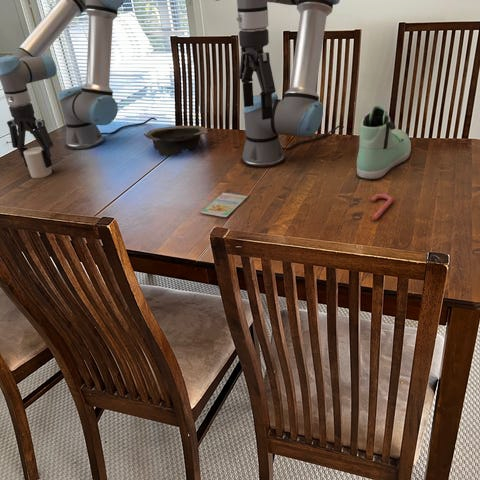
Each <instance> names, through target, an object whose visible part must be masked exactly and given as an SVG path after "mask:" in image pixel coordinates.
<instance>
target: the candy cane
mask: <svg viewBox="0 0 480 480" xmlns="http://www.w3.org/2000/svg"><path fill="white" fill-rule="evenodd" d="M379 199H384V200H386V201H385V203H383V205H382V206H381V207H380V208H378V210H377V211H376V212H375V213H374V214H373V215H372V216H371V219H372V220H373V221H377V220H378V219H379V217H381V215H383V213H384V212H385V211H386V210H387V209H388V208H389V207H390V206H391V205H392V203H393V202H394V198H393V197H392V195H389V194H386V193H376V194H374V195H372V197H371V201H372V202H373V203H374V202H377V200H379Z"/></svg>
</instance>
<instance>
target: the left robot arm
mask: <svg viewBox="0 0 480 480" xmlns="http://www.w3.org/2000/svg"><path fill="white" fill-rule="evenodd" d="M124 3H125V0H57V1H56V3H55V4H54V5H53V6H52V7H51V9H50V10H49V11H48V12H47V13H46V15H45V16H44V17H43V18H42V19H41V21H40V22H39V23H38V24H37V25H36V27H35V28H34V29H33V30H32V31H31V32H30V34H28V36H27V38H26V39H25V40H24V41H23V42H22V43H21V44H20V45H19V47H18V48H17V49H16V50H15V51H14V52H13V53H9V54H7V55H5V56H0V83H1V86H2V90H3V93H4V96H5V99H6V102H7V105H8V106H9V107H8V110H9V112H10V116H11V117H12V118H13V119H10V120H8V121H6V124H7V127H8V128H9V134H10V139H11V145H12V148H13V149H17V150H18V151H19V154H20V156H21V159H22V160H23V162H24V166H25V167H26V168H28V165H27V162H26V159H25V156H24V151H25V150H27V149H28V148H27V147H26V145H25V144H26V132H29V133H30V135H32V136H33V138H34V139H35V140H36V142H37V143H38V144H39V147H42V149H43V150H42V151H41V152H42V155H43V159H44V162H45V165H46V168H48V167H52V166H53V163H52V159H51V158H52V154H51V151H50V149H51V148H53V147H54V144H53V141H52V139H51V137H50V134H49V133H48V129H47V127H46V122H45V120H44V119H40V120H39V119H37V117H35V109H34V106H33V103H32V100H31V95H30V93H29V88H28V86H27V84H32V83H35V82H39V81H43V80H49V79H51V78H54V77H55V76H56V75H57V71H58V69H57V65H56V62H55V60H54V59H53V58H52V57H51V56H50V55H48V54H46V53H47V51H48V50H49V49H50V47H51V46H52V45H53V44H54V43H55V41H57V39H58V38H59V37H60V36H61V34H62V33H63V31H64V30H66V28H67V27H68V26H69V25H70V23H71V22H72V21H73V20H74V18H75V17H80V16H81V15H82V13H84V12H86V14H87V15H88V33H87V34H88V35H87V54H86V55H87V56H86V57H87V59H86V77H85V79H86V81H85V84H84V85H81V86H79V85H78V86H74V87H69V88H66V89H63V90H61V91H59V92H58V100H59V105H60V108H61V113H62V116H63V119H64V123H65V126H66V133H65V144H66V148H68V149H70V150H85V149H92V148H94V147H97V146H99V145H102V143H104V135H107V136H108V135H114V134H116V133H117V132H119V131H120V130H123V129H125V128H130V127H136V126H142V125H145V124H148V122H150V121H152V120H154V121H157V118H155V117H150V118H148V119H147V120H145V121H143V122H139V123H133V124H127V125H123V126H120V127H119V128H116V130H113V131H111V132H101V130H100V129H99V127H98V126H108V125H110V124H111V123H112V122H114V120H115V119H116V118H117V115H118V111H119V108H118V107H119V106H118V103H117V102H116V99H115V98H114V97H113V95H114V92H113V89H112V87H110V79H111V63H112V62H111V61H112V60H111V59H112V44H113V43H112V42H113V26H114V20H115V19H116V18H117V17H118V11H119V9H120V8H121V7H122V6H123V5H124Z"/></svg>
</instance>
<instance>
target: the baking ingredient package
mask: <svg viewBox="0 0 480 480" xmlns="http://www.w3.org/2000/svg"><path fill="white" fill-rule="evenodd" d="M248 197H249V196H248V195H243V194H237V193H231V192H224V191H223V192H222V193H221V194H219V195H218V196H217V197H216V198H215V199H214V200H212V202H210V203H209V204H208V205H207V206H205V207H204V208H203V209H202V210H201V211H199V213H200V214H205V215H209V216H217V217H221V218H227V217H229V215H230V214H231V213H232V212H234V210H236V209H237V208H238V207H239V206H240V205H241V204H242V203H243V202H244V201H245V200H246V199H247V198H248Z"/></svg>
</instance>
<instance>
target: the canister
mask: <svg viewBox="0 0 480 480" xmlns="http://www.w3.org/2000/svg"><path fill="white" fill-rule="evenodd" d="M42 150H43V149H42V147H41V146H34V147H30V148H27V150H25V151H24V156H25V159H26V162H27V165H28V167H27V169H28V171H29V175H30V177H31V178H33V179H41V178H42V179H43V178H45V177H49V176H50V175H52V173H53V171H52V166H50V167H48V168H46V165H45V162H44V159H43V155H42V152H41V151H42Z"/></svg>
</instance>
